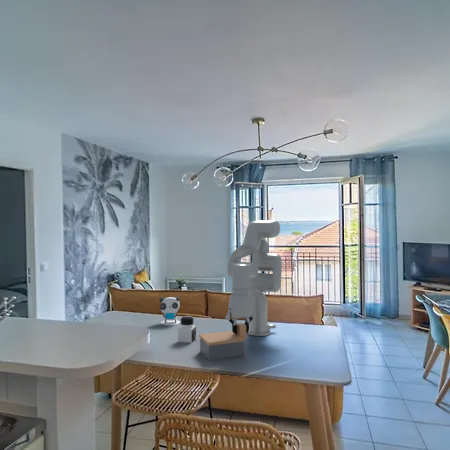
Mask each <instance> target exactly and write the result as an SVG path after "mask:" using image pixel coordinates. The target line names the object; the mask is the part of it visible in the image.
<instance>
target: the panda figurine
mask: <svg viewBox="0 0 450 450" xmlns="http://www.w3.org/2000/svg"><path fill="white" fill-rule="evenodd" d="M180 299H181V298H180V296H176V297H173V296H170V297H163V296H162V297H160V298H159V299H158V300H159V303H160V305H159V309H160V311H161V312H162V317H163V318H164V320H162V321H160V325H162V326H163V325H164V326H176V325H180V324H181V320H178V318H177V317H178V311H179V309H180V304H181V303H180Z"/></svg>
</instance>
